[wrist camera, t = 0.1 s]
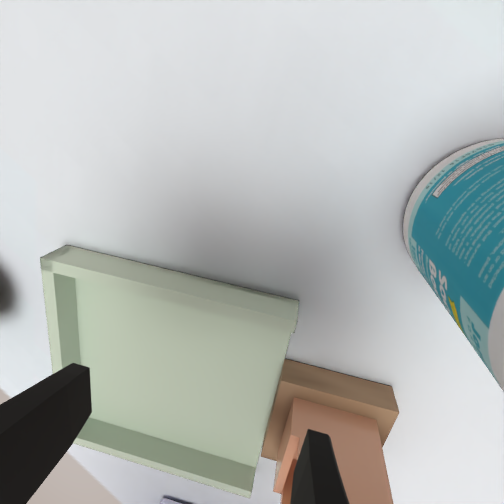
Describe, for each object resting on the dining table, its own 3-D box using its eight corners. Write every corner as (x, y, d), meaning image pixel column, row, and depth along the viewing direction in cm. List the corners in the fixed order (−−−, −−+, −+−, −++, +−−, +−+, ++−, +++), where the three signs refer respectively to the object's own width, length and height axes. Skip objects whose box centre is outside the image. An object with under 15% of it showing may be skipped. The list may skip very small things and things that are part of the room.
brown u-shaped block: (352, 472, 21) (367, 624, 15) (277, 450, 22) (261, 588, 15) (376, 419, 19) (406, 568, 13) (293, 397, 20) (282, 529, 13)
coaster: (359, 458, 23) (363, 486, 21) (265, 430, 24) (260, 456, 22) (391, 386, 20) (399, 412, 19) (283, 358, 21) (281, 380, 19)
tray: (255, 469, 26) (249, 498, 24) (78, 416, 27) (60, 439, 25) (299, 300, 19) (297, 321, 17) (66, 244, 21) (40, 257, 19)
